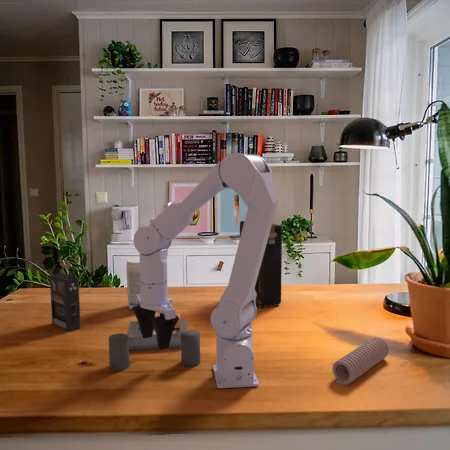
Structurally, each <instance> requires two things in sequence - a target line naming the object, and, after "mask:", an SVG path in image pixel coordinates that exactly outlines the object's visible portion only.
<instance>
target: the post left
mask: <svg viewBox="0 0 450 450" xmlns="http://www.w3.org/2000/svg"><path fill="white" fill-rule="evenodd" d="M129 352H130V350H129V343H128V335H127V333H115V334H111V335H110V336H108V355H109V357H108V358H109V359H108V360H109V369H110V370H112V371H115V372H116V371H117V372H119V371H120V372H121V371H125V370H127V369H128V368H129V367H130V356H129V355H130V353H129Z"/></svg>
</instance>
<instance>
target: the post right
mask: <svg viewBox="0 0 450 450" xmlns="http://www.w3.org/2000/svg"><path fill="white" fill-rule="evenodd" d="M200 335H201V333H200V331H198V330H192V329H190V330H187V331H184V332H182V333H181V348H180V353H181V354H180V358H181V359H180V360H181V361H180V362H181V363H180V364H181V365H182V366H184V367H187V368H192V367H193V368H194V367H196V366H199V365H201V338H200V337H201V336H200Z"/></svg>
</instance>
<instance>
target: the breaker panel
mask: <svg viewBox="0 0 450 450" xmlns="http://www.w3.org/2000/svg"><path fill="white" fill-rule="evenodd" d="M128 324H129V326H128V328H127V332H126V334H127V335H128V343H129V351H137V350H140V351H141V350H155V349H156V350H157V349H159V348H158V344H157V336H156V331H155V328H154V327H153V335H152V337H149V338H145V339H144V338H143V337H142V334H141V330H140V327H139V323H138V320H137V321H135V320H134V321H129V323H128ZM184 331H188V330H187V319H185V318H182V319H181V318H180V328H174V329H173V332H172V336H171V340H170V344H169V348H168V349H175V348H176V349H177V348H178V349H179V348H180V349H181V333H182V332H184ZM159 350H160V349H159Z"/></svg>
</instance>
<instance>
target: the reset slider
mask: <svg viewBox="0 0 450 450" xmlns="http://www.w3.org/2000/svg"><path fill="white" fill-rule="evenodd" d="M175 314H176V315H178V316H179V320H178V322H177V323H176V325H175V327H174V328H180V319H181V313H175Z"/></svg>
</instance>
